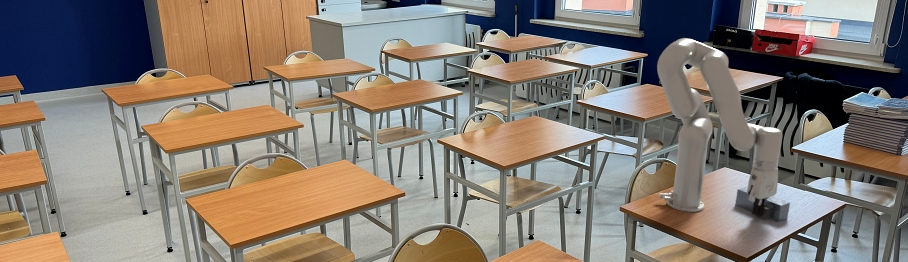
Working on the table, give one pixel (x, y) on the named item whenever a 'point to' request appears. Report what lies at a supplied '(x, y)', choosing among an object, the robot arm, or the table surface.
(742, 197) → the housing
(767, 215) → the plug
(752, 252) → the table surface
